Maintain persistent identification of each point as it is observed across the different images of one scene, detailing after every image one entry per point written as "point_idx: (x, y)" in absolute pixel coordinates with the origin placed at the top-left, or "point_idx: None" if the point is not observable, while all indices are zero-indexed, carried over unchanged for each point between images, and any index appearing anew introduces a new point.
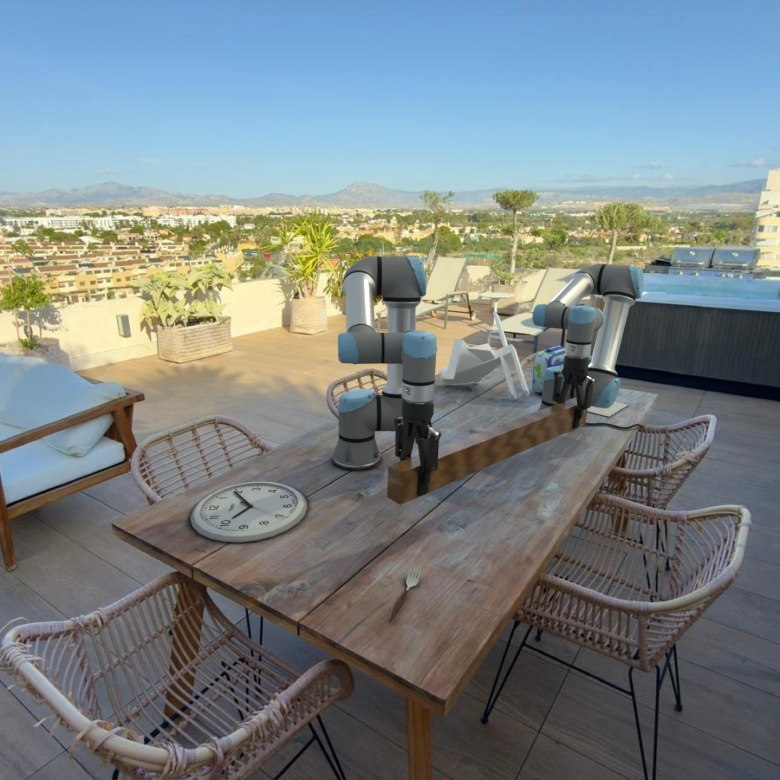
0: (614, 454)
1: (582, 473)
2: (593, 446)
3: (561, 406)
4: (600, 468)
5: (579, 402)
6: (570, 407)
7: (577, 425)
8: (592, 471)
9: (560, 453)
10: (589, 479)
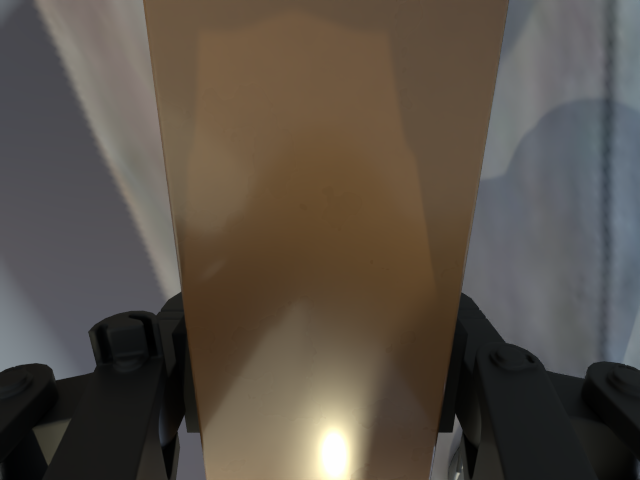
0: None
1: None
2: None
3: (327, 125)
4: (155, 226)
5: (86, 442)
6: (176, 222)
7: None
8: (154, 168)
9: None
10: (104, 71)
